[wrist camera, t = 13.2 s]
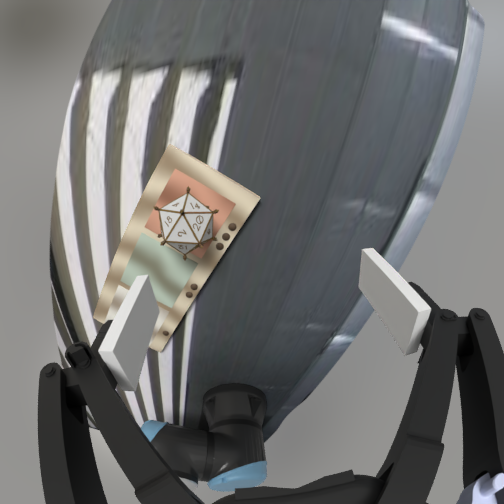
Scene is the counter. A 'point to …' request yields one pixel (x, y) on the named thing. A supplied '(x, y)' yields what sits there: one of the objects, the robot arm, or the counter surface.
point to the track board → (166, 257)
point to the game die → (186, 223)
